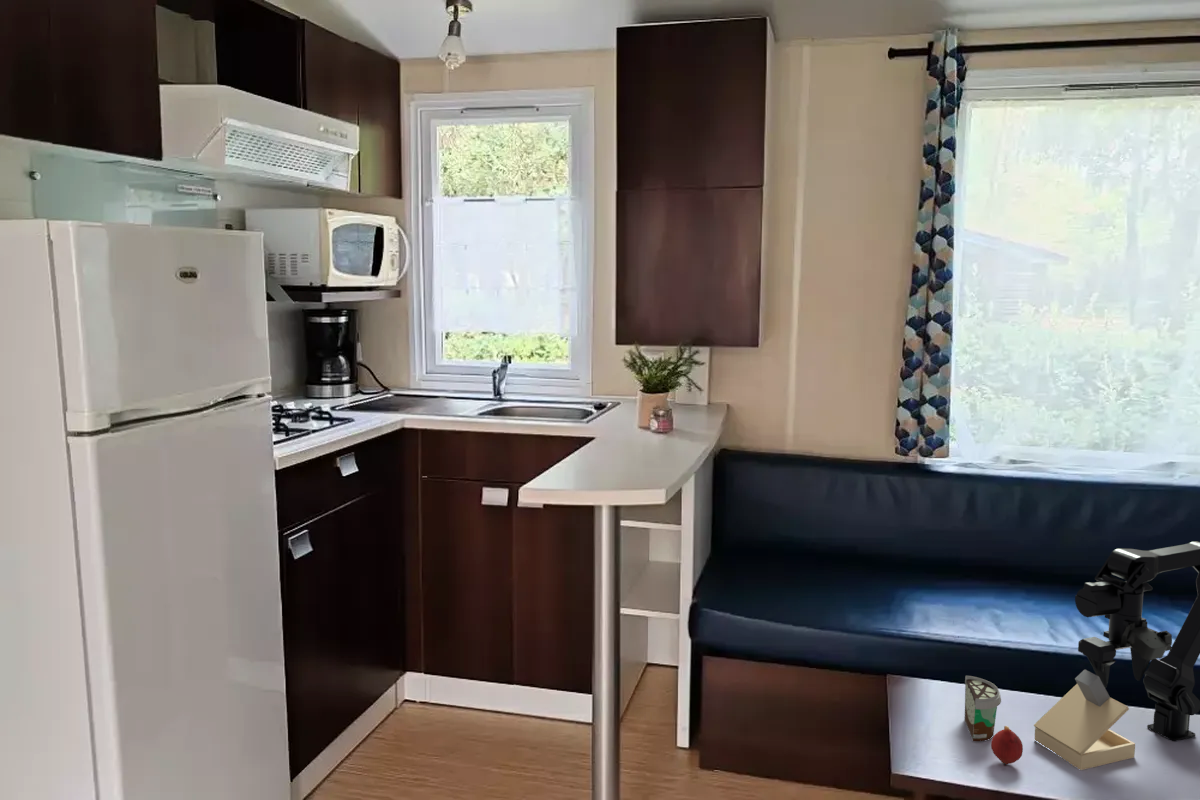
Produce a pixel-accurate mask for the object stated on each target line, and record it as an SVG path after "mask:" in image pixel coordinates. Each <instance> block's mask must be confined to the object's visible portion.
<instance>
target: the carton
mask: <svg viewBox="0 0 1200 800" xmlns="http://www.w3.org/2000/svg"><path fill="white" fill-rule="evenodd" d="M1034 739H1035V740H1036V741H1038V742H1039V743H1041V744H1042V745H1044V746H1045V747H1047V748H1049V749H1050V750H1052V751H1053V752H1055V753H1056V754H1057V755H1059V756H1061V757H1062V758H1063V759H1065V760H1066V761H1065V760H1064V761H1065V762H1067V761H1068V762H1069V763H1068V762H1067V763H1068V764H1070V765H1071V764H1072V765H1071V766H1073V767H1075V768H1076V767H1077V768H1076V769H1078V770H1079V769H1080V770H1079V771H1083V770H1088V769H1092V768H1096V767H1100V766H1104V765H1109V764H1112V763H1117V762H1121V761H1126V760H1129V759H1133V758H1135V753H1136V743H1135V742H1133V741H1132V740H1129V739H1128V738H1126V737H1124V736H1122V735H1120V734H1118V733H1117V732H1115V731H1114V730H1112V729H1110V728H1109V729H1108V730H1107V731H1106V732H1105V733H1104V734H1103V735H1102V736H1101V737H1100V738H1099V739H1098V740H1097V741H1096V742H1095V743H1094V744H1093V745H1092V746H1091V747H1090V748H1089V749H1088V750H1087V751H1086V752H1085V753H1084V754H1083V755H1082V756H1081V755H1080V754H1078V753H1076V752H1075V751H1073V750H1071V749H1070V748H1068V747H1066V746H1065V745H1063V744H1061V743H1060V742H1058V741H1056V740H1055V739H1053V738H1051V737H1050V736H1048V735H1046V734H1045V733H1043V732H1042V731H1040V730H1038V729H1037V728H1035V727H1034ZM1057 755H1056V756H1057ZM1059 756H1058V757H1059ZM1062 758H1061V759H1062ZM1063 759H1062V760H1063Z"/></svg>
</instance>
